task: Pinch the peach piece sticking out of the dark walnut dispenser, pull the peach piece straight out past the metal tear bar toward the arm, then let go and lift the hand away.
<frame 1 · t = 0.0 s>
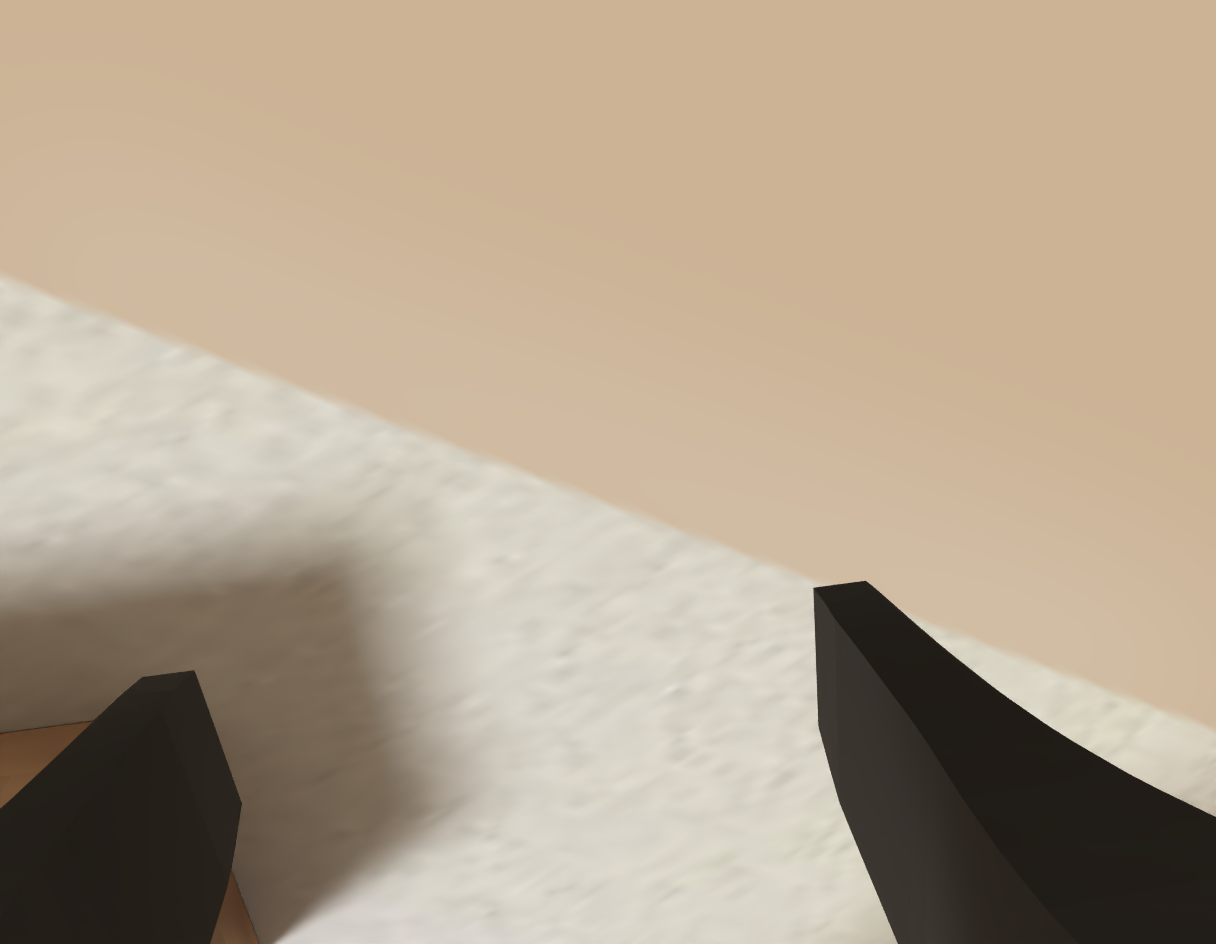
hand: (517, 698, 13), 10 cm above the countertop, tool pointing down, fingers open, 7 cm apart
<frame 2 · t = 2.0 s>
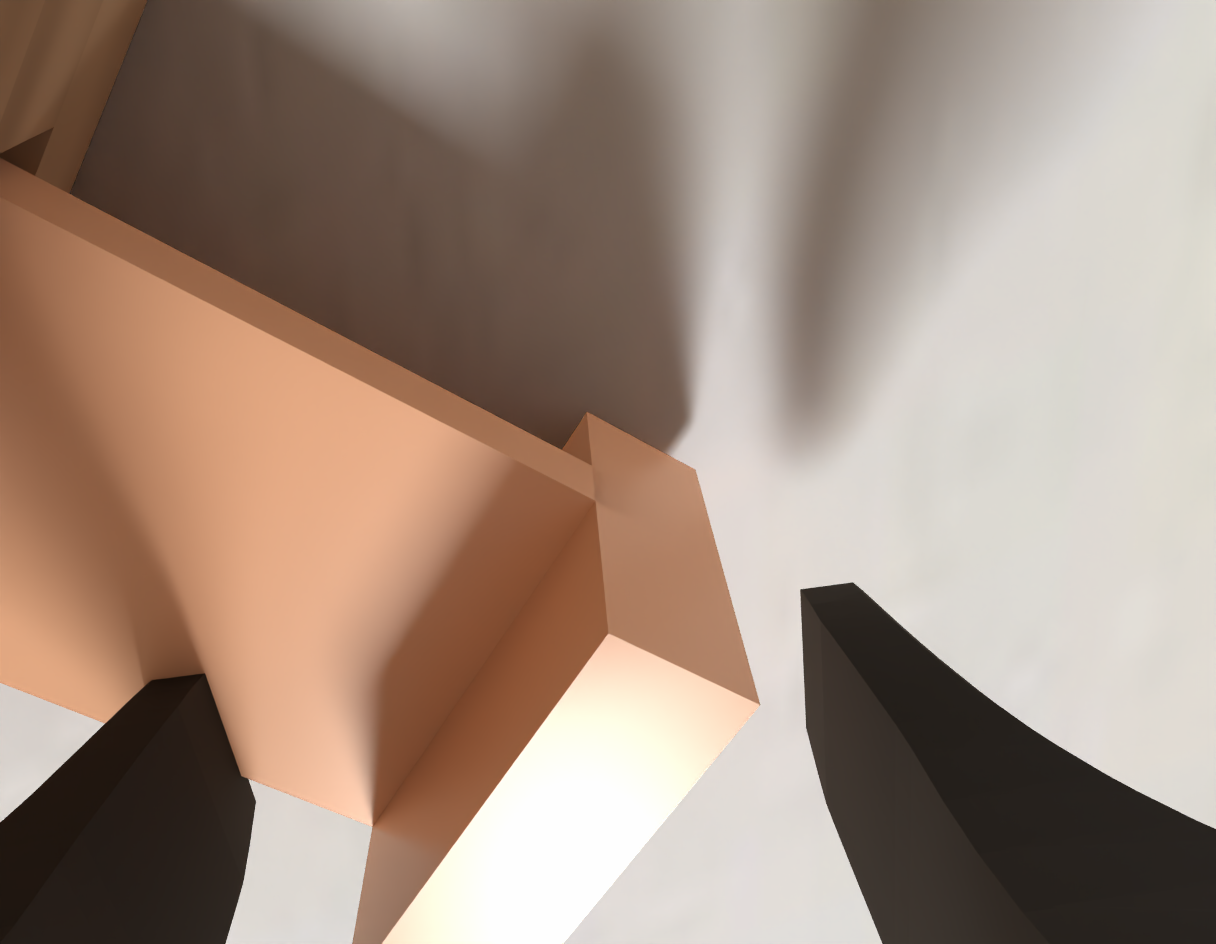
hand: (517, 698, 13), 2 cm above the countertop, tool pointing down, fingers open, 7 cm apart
peach piece: (1, 469, 11), point 3 cm above the countertop, slide at 0.1 cm, touching gripper
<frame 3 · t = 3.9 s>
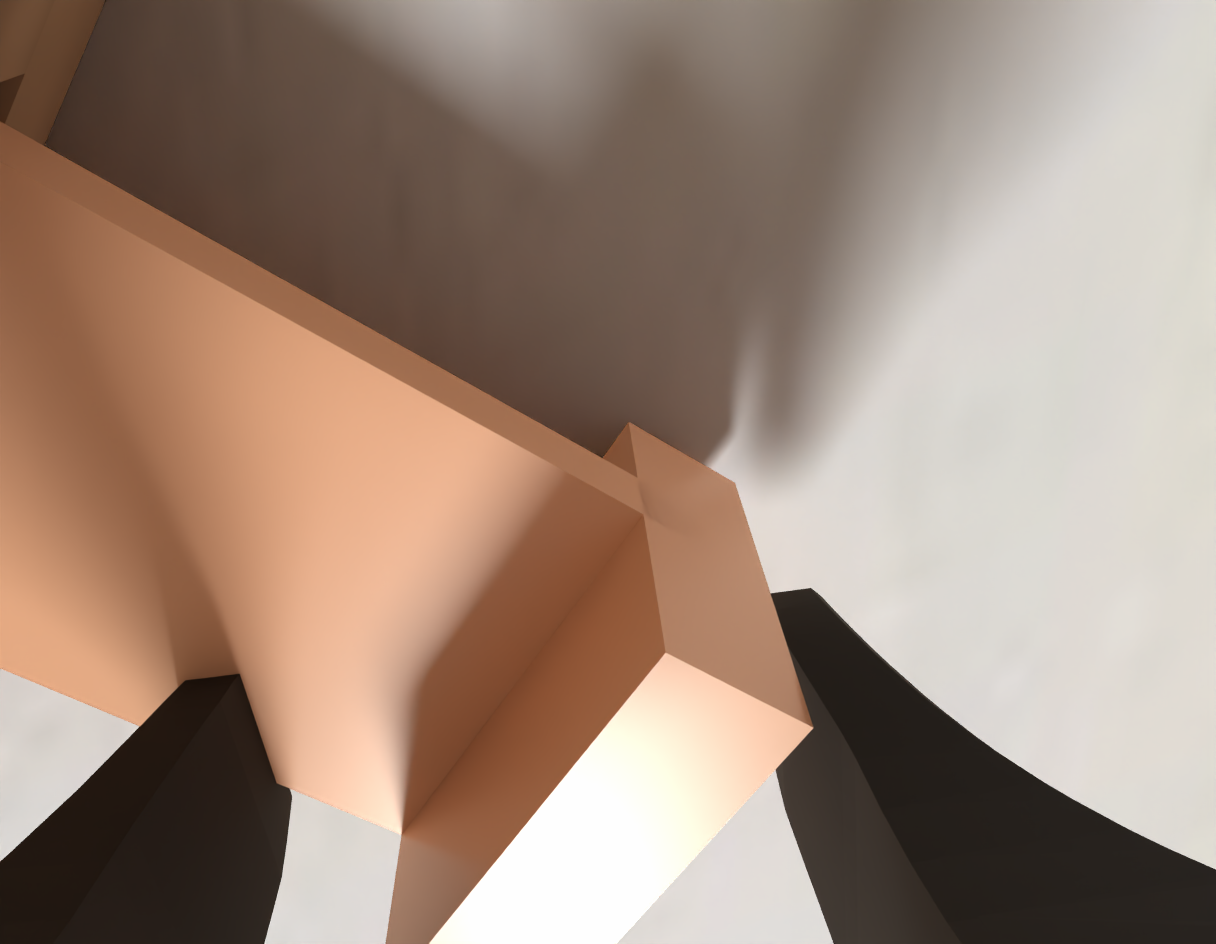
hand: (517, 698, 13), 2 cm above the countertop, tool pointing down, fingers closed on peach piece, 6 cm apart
peach piece: (44, 467, 11), point 3 cm above the countertop, slide at 0.9 cm, touching gripper
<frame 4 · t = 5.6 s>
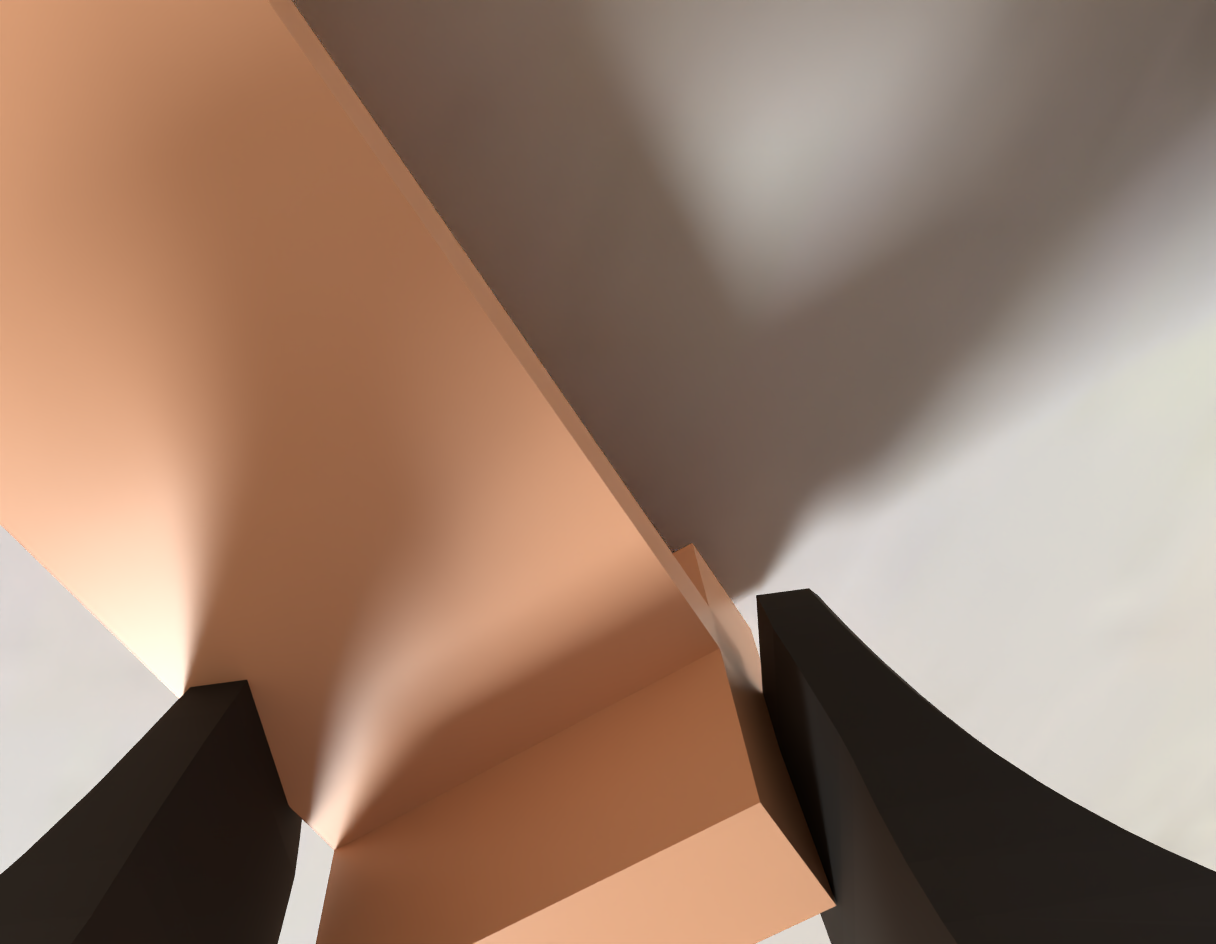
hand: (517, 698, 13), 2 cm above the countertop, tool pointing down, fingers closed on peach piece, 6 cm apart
peach piece: (206, 392, 10), point 3 cm above the countertop, slide at 8.5 cm, touching gripper
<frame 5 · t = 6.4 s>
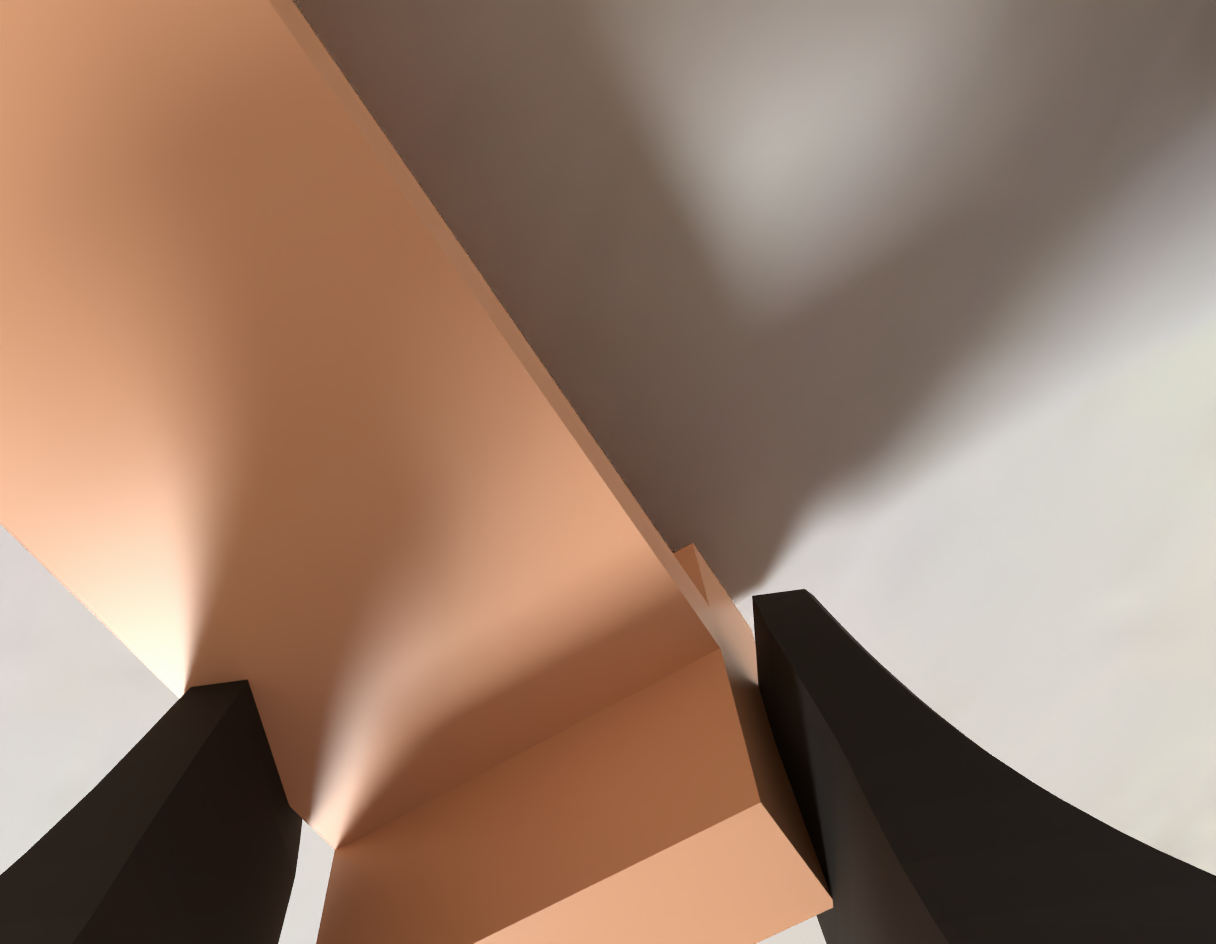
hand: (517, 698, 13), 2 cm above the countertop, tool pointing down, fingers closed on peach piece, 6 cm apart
peach piece: (207, 391, 10), point 3 cm above the countertop, slide at 8.5 cm, touching gripper
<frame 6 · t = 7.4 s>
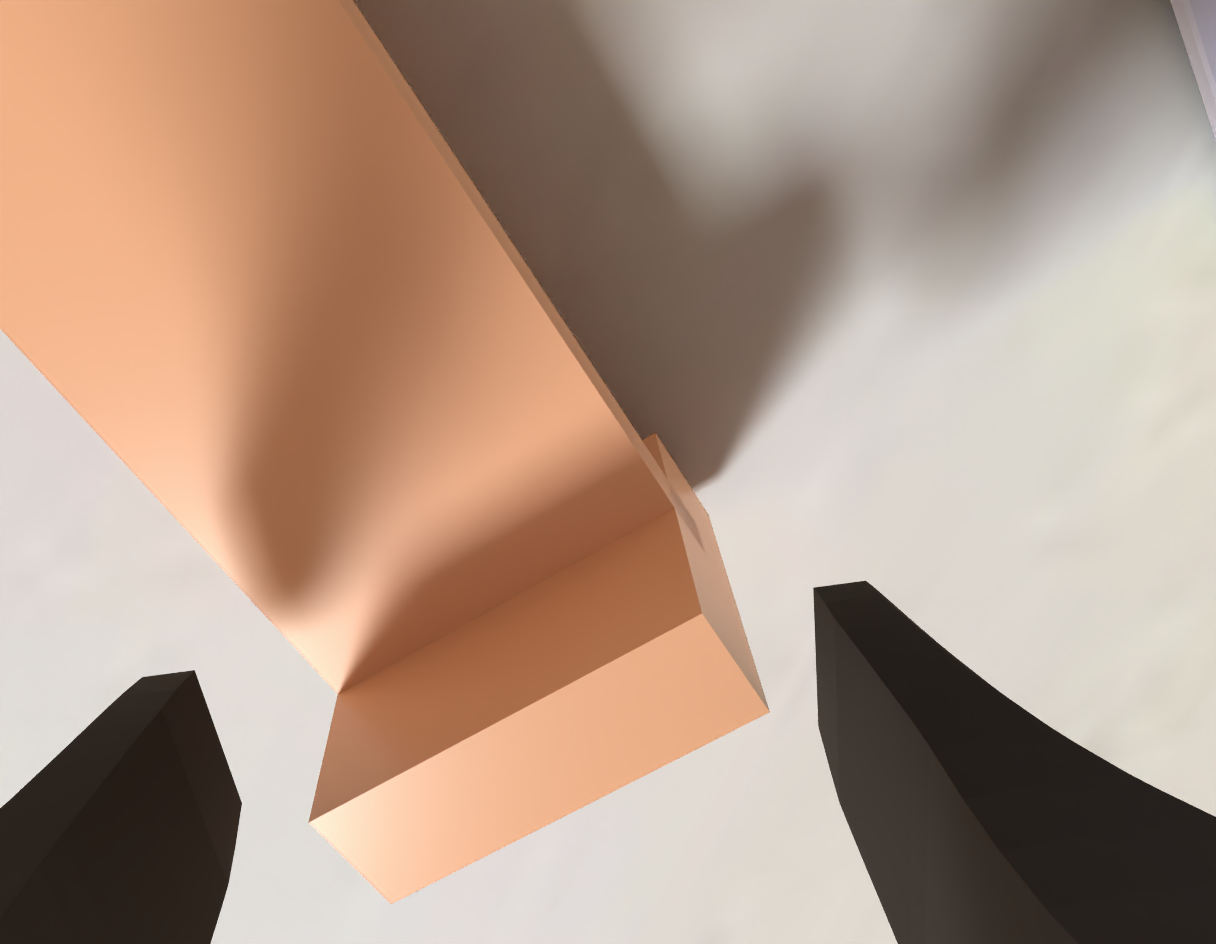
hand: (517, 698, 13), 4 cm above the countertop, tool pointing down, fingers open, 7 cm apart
peach piece: (233, 267, 12), point 3 cm above the countertop, slide at 8.1 cm
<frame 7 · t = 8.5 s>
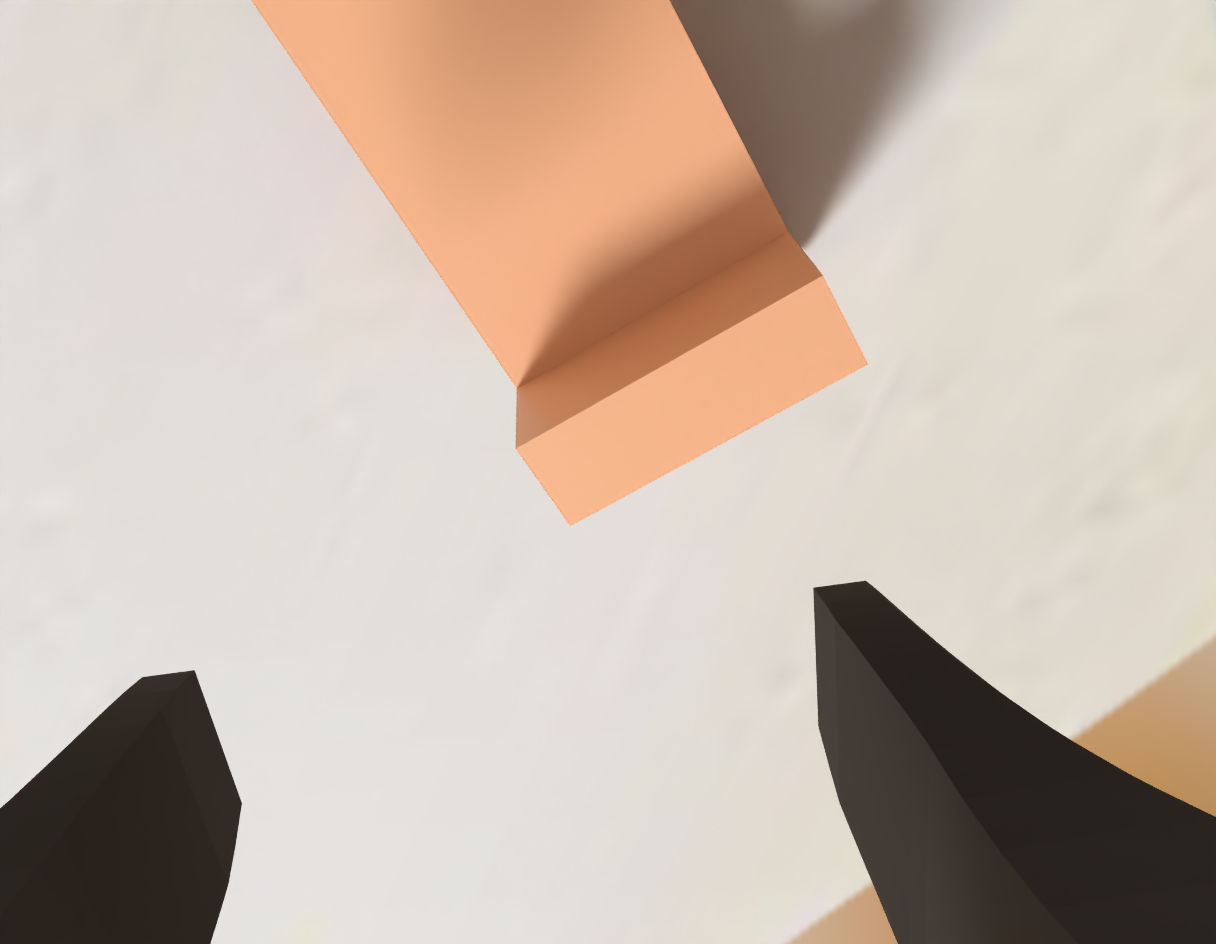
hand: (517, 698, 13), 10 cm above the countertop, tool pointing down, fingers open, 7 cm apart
peach piece: (472, 17, 16), point 3 cm above the countertop, slide at 8.1 cm
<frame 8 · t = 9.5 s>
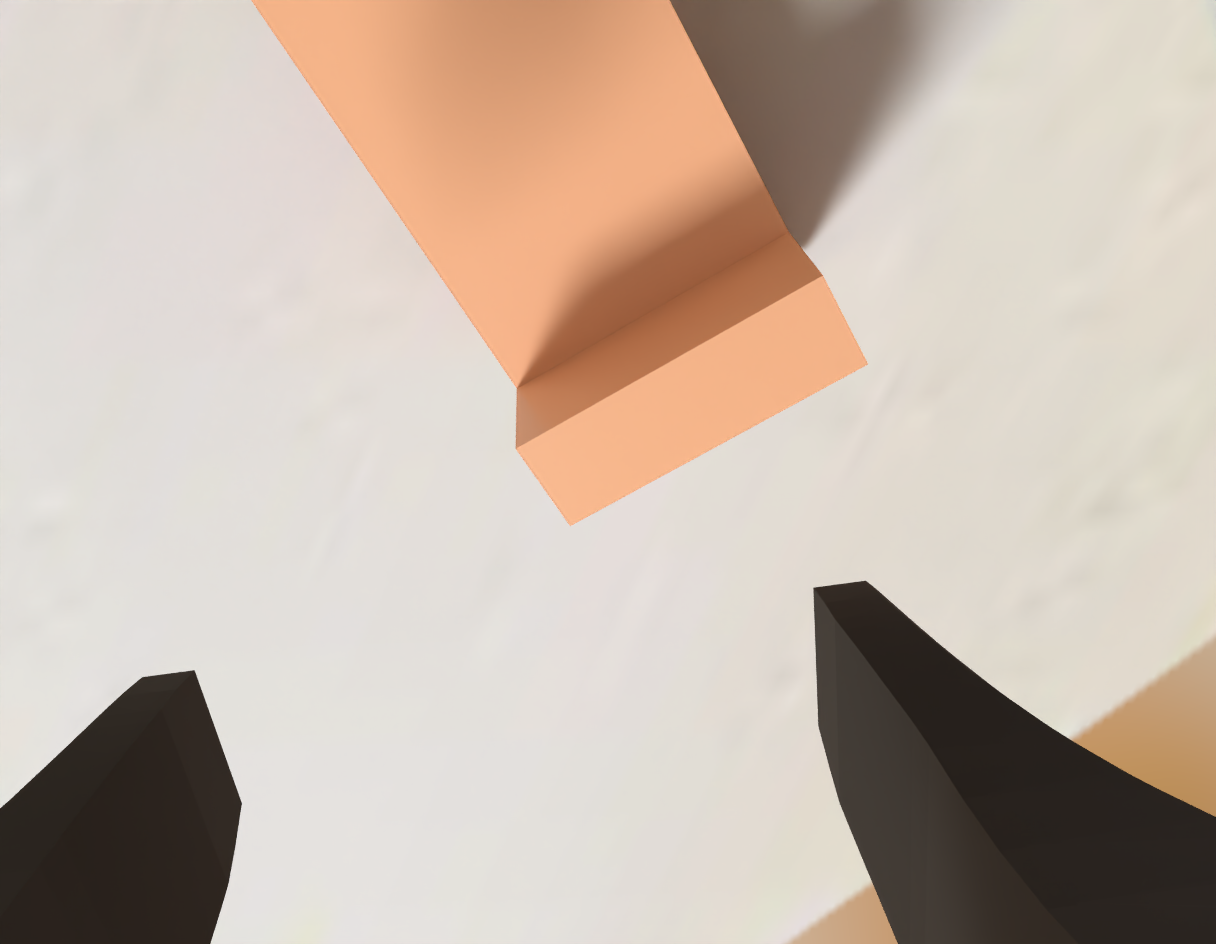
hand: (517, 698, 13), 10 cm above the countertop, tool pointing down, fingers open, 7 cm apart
peach piece: (472, 17, 16), point 3 cm above the countertop, slide at 8.1 cm
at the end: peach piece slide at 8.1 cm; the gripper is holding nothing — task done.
